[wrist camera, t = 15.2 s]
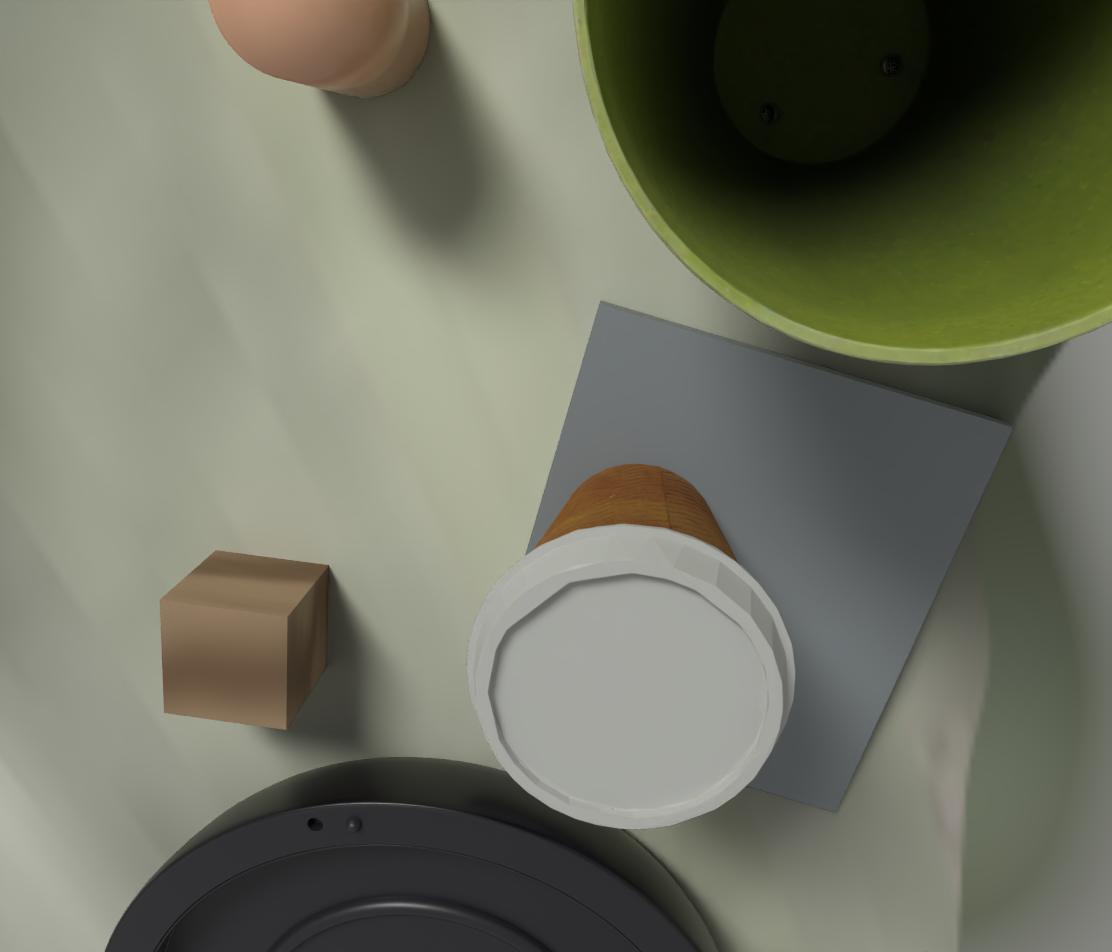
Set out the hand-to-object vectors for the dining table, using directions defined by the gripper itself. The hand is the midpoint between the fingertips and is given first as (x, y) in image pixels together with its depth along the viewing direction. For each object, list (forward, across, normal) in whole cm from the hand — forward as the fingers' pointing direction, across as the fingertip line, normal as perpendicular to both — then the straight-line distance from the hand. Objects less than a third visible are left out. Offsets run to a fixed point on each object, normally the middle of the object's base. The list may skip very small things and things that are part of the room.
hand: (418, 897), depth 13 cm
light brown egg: (+26, -11, +12) cm, 31 cm away
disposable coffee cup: (+25, +4, -4) cm, 26 cm away
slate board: (+26, +8, -5) cm, 28 cm away
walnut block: (+26, -11, -12) cm, 31 cm away
